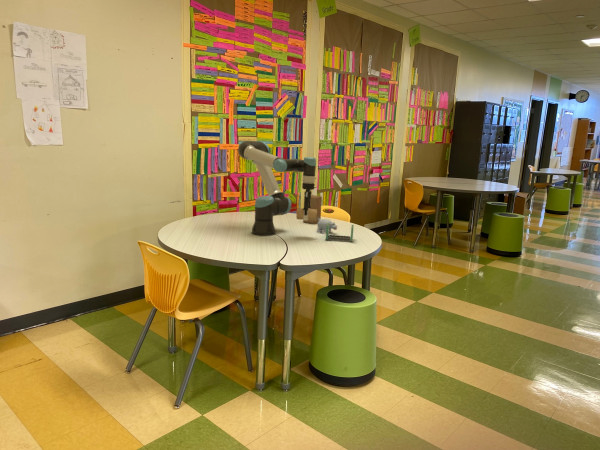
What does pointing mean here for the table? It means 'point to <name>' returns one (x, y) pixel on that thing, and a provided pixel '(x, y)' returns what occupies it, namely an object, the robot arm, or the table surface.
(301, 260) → the table surface
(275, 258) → the table surface
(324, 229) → the hippopotamus toy
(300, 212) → the cylinder
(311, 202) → the wooden block
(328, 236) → the holder
